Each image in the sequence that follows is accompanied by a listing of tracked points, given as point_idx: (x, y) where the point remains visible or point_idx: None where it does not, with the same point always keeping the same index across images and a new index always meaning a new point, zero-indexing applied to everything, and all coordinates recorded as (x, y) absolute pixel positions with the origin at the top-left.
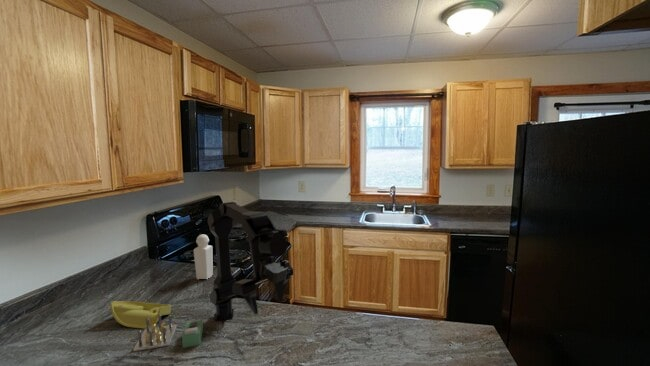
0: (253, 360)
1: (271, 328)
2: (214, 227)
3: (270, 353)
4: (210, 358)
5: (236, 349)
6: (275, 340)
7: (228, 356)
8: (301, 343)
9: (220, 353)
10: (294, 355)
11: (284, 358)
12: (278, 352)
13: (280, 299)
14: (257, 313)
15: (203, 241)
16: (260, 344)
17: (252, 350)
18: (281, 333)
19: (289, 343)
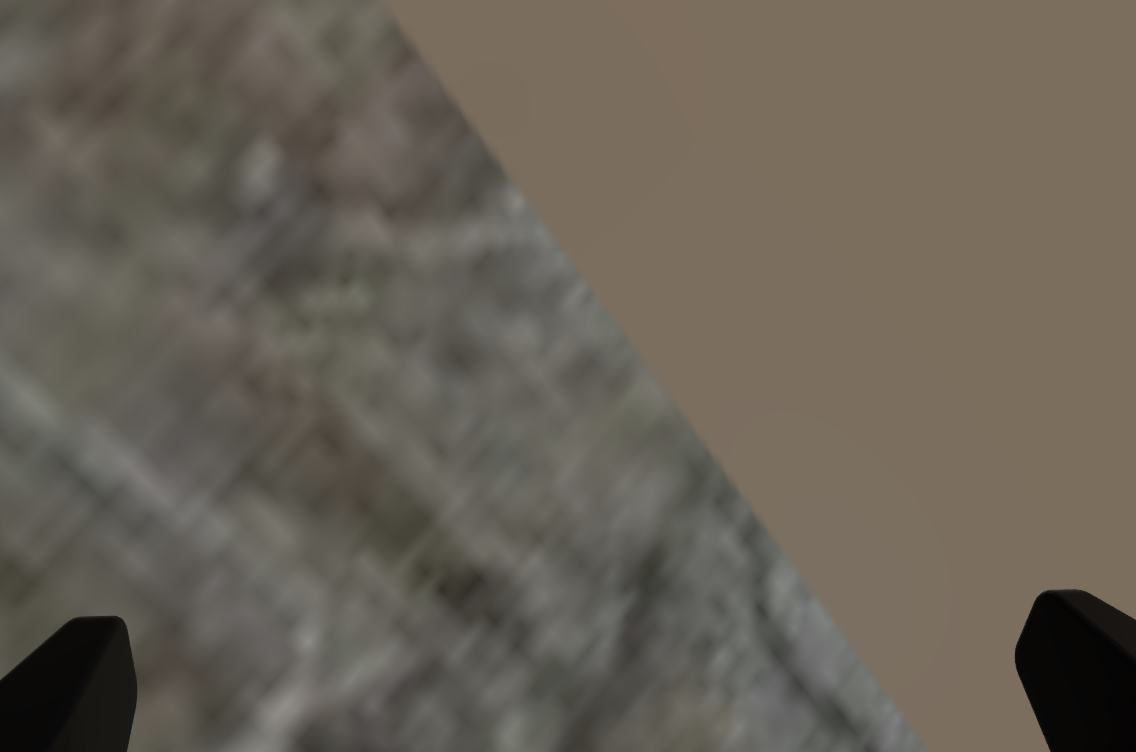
0: (657, 380)
1: None
2: None
3: (462, 321)
4: (866, 714)
5: (645, 654)
6: (254, 461)
7: (760, 621)
8: (36, 135)
9: (773, 711)
10: (287, 37)
11: (414, 109)
12: (386, 256)
13: (102, 696)
14: (1059, 591)
15: None
16: (429, 536)
17: (555, 520)
18: (98, 513)
19: (163, 274)
